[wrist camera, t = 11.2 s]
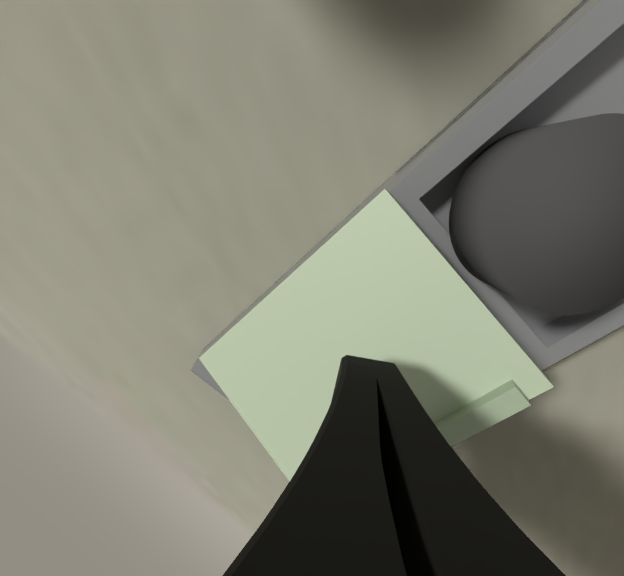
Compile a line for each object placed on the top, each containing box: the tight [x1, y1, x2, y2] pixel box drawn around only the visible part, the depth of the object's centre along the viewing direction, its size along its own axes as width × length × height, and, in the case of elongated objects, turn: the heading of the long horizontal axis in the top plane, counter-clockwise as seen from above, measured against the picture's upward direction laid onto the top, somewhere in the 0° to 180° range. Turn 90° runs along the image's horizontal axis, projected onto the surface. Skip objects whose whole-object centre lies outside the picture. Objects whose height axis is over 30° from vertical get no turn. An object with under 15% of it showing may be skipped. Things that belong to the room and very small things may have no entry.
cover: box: [199, 189, 554, 481], centre depth 12 cm, size 7×9×1 cm
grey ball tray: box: [190, 0, 624, 400], centre depth 13 cm, size 9×20×2 cm, turn 135°
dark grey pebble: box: [449, 113, 624, 315], centre depth 10 cm, size 5×5×2 cm
